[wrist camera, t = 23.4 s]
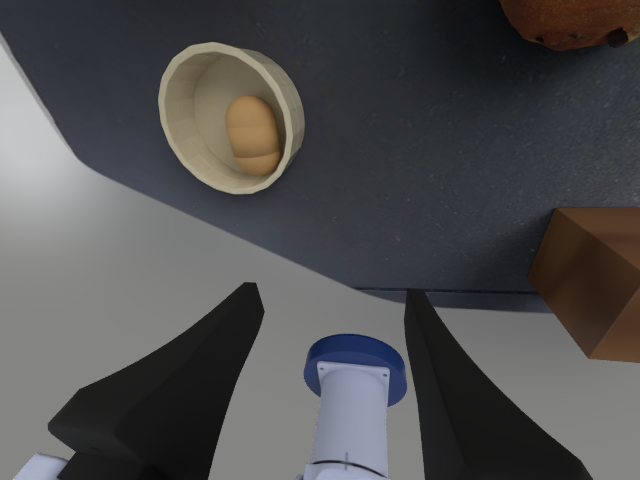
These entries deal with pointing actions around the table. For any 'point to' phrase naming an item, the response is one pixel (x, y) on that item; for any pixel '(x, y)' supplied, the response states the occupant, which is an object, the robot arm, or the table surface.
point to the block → (593, 278)
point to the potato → (253, 135)
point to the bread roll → (574, 22)
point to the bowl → (210, 108)
